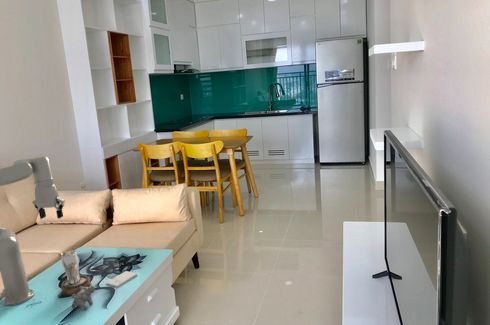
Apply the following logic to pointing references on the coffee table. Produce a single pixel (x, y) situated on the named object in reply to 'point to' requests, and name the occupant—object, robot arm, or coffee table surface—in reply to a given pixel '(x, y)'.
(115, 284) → the external hard drive
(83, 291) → the elephant statuette
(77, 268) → the silver metal cup
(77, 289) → the brown round bowl
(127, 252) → the coffee table surface
